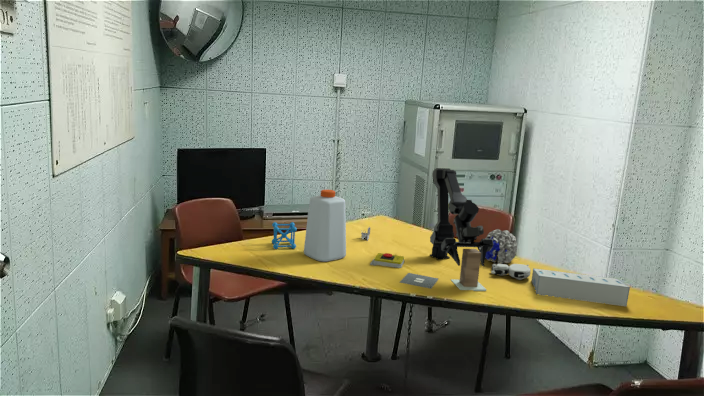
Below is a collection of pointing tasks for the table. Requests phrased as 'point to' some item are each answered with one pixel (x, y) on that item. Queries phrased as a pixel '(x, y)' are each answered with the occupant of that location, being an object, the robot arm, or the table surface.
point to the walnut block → (470, 267)
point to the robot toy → (511, 270)
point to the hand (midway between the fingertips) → (471, 265)
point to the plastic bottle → (326, 227)
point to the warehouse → (580, 287)
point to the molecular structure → (284, 235)
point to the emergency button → (388, 260)
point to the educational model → (501, 246)
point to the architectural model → (365, 234)
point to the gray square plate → (419, 280)
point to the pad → (461, 287)
